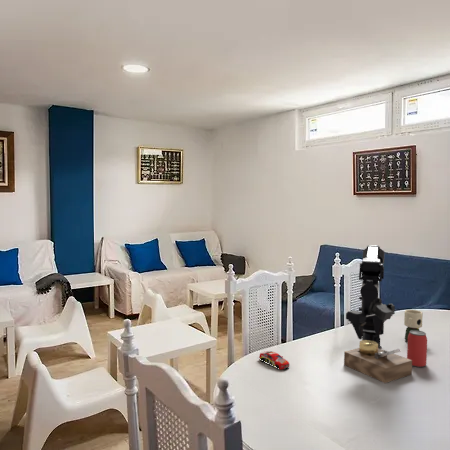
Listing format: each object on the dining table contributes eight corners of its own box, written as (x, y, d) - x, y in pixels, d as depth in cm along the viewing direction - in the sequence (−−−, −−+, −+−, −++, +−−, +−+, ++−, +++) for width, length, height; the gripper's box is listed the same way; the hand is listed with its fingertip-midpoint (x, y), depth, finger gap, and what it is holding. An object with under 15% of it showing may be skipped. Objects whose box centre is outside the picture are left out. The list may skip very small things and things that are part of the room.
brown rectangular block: (344, 364, 158) (344, 346, 157) (369, 357, 165) (370, 340, 164) (385, 383, 142) (385, 362, 142) (411, 374, 150) (412, 355, 149)
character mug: (417, 346, 179) (418, 315, 178) (399, 342, 183) (400, 312, 182) (424, 340, 187) (425, 310, 186) (407, 336, 191) (408, 307, 191)
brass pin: (369, 370, 153) (369, 347, 152) (355, 364, 158) (355, 341, 158) (381, 367, 156) (381, 344, 155) (367, 361, 161) (367, 339, 161)
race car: (292, 369, 154) (292, 358, 154) (281, 372, 151) (281, 361, 151) (268, 357, 165) (268, 347, 165) (257, 360, 162) (257, 350, 161)
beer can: (428, 368, 155) (429, 335, 154) (408, 366, 156) (410, 334, 156) (423, 361, 162) (424, 330, 161) (405, 360, 163) (406, 329, 162)
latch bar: (377, 358, 151) (375, 353, 152) (383, 356, 153) (381, 352, 154) (394, 353, 145) (392, 348, 146) (400, 351, 147) (398, 346, 147)
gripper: (370, 302, 144) (369, 348, 144) (406, 296, 153) (404, 339, 154) (345, 295, 153) (344, 338, 154) (380, 290, 163) (378, 331, 164)
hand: (368, 337), depth 156 cm, fingers open, 9 cm apart
